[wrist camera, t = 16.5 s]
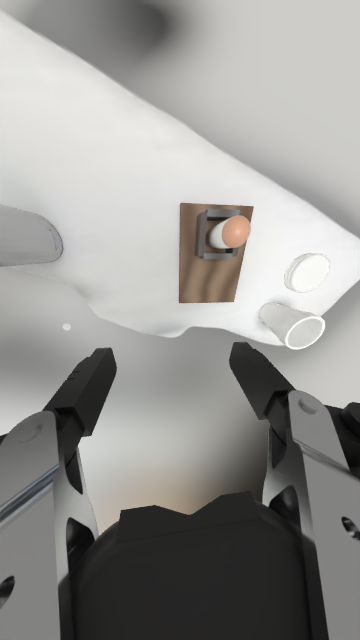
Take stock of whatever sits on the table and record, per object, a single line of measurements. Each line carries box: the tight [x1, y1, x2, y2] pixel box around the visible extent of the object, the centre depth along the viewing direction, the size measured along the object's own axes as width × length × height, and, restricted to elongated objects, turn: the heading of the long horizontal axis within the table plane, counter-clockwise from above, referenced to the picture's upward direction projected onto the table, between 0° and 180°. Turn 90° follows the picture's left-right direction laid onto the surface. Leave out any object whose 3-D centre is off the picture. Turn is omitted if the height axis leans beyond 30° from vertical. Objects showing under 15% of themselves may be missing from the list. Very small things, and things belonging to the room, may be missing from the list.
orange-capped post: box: [205, 215, 250, 249], centre depth 26 cm, size 4×4×13 cm
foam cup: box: [259, 303, 325, 349], centre depth 38 cm, size 10×9×13 cm
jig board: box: [179, 203, 254, 303], centre depth 32 cm, size 16×22×5 cm
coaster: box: [284, 254, 330, 293], centre depth 37 cm, size 10×10×4 cm
